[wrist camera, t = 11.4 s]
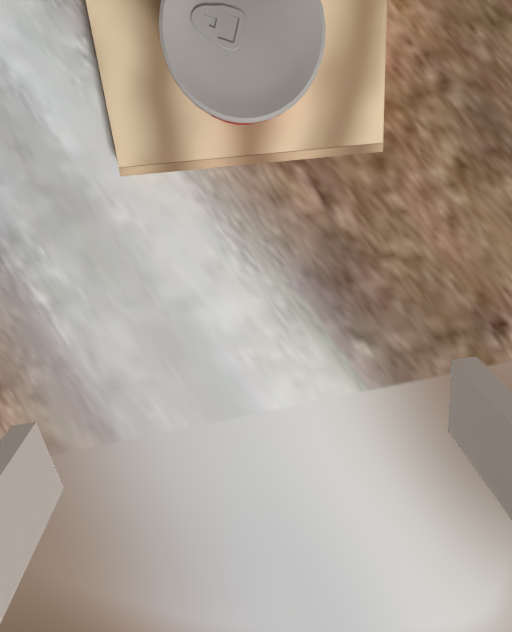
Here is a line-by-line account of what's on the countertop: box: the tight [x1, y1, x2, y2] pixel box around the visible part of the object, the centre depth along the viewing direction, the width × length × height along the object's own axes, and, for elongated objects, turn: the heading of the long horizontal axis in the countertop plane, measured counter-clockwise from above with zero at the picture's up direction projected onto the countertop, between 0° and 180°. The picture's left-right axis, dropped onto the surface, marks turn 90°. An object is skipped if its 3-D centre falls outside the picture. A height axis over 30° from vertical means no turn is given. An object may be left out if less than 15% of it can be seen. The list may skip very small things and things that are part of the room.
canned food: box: [159, 0, 326, 125], centre depth 25 cm, size 8×8×11 cm
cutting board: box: [86, 0, 387, 176], centre depth 31 cm, size 20×13×2 cm, turn 95°
